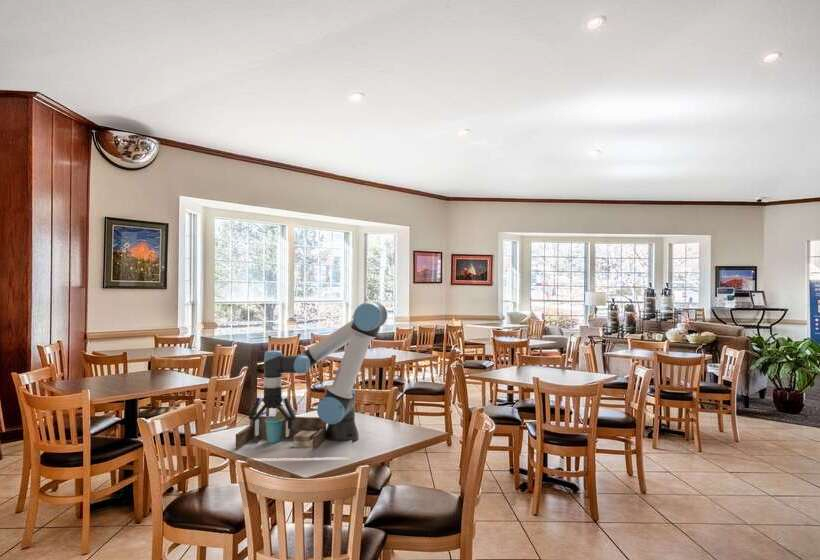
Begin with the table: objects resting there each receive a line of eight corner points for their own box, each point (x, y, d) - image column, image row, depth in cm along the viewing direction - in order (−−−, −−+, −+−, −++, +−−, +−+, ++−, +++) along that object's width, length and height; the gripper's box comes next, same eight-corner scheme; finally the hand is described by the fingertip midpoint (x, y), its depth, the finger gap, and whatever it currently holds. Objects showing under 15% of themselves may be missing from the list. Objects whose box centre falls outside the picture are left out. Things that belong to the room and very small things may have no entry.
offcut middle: (316, 439, 239) (316, 434, 239) (312, 446, 228) (312, 441, 228) (298, 439, 239) (298, 434, 239) (293, 446, 228) (293, 441, 228)
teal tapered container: (266, 449, 226) (266, 413, 227) (253, 446, 231) (253, 411, 231) (290, 442, 238) (290, 407, 239) (277, 439, 242) (277, 405, 243)
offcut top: (317, 435, 238) (317, 430, 238) (309, 441, 228) (309, 436, 228) (302, 434, 239) (302, 430, 239) (293, 440, 229) (293, 435, 229)
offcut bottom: (318, 443, 239) (318, 438, 239) (311, 452, 226) (311, 447, 227) (298, 443, 240) (298, 438, 240) (290, 451, 227) (290, 446, 227)
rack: (326, 439, 242) (326, 417, 242) (316, 451, 225) (316, 426, 225) (251, 437, 245) (251, 415, 245) (235, 448, 228) (235, 424, 228)
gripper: (303, 385, 238) (302, 434, 237) (248, 384, 240) (247, 432, 239) (298, 388, 230) (297, 438, 230) (241, 387, 232) (240, 437, 232)
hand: (272, 435), depth 235 cm, fingers open, 13 cm apart
